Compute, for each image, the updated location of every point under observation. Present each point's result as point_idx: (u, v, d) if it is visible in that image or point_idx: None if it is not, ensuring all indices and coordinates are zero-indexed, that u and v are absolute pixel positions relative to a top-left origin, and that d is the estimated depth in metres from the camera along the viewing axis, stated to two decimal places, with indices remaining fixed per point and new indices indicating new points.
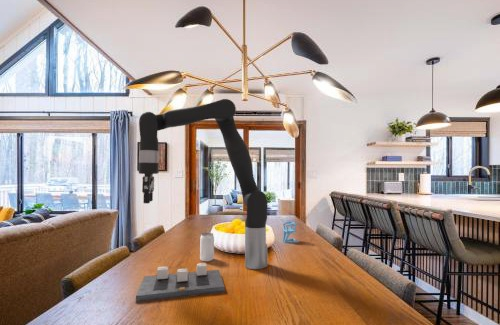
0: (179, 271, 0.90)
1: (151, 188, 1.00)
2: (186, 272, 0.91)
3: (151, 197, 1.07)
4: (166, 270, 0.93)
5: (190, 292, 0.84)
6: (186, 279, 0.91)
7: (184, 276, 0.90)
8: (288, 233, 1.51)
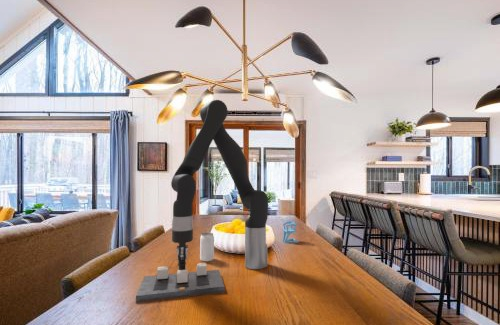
0: (179, 272, 0.89)
1: (186, 258, 0.94)
2: (186, 273, 0.90)
3: None
4: (166, 270, 0.93)
5: (190, 292, 0.84)
6: (186, 280, 0.89)
7: (184, 278, 0.89)
8: (288, 233, 1.51)
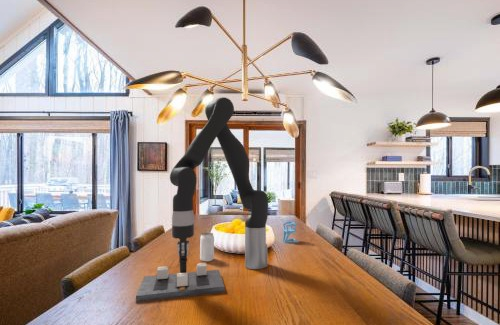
0: (179, 275, 0.86)
1: (187, 254, 0.90)
2: (186, 276, 0.87)
3: None
4: (166, 270, 0.93)
5: (190, 292, 0.84)
6: (186, 284, 0.87)
7: (184, 281, 0.86)
8: (288, 233, 1.51)
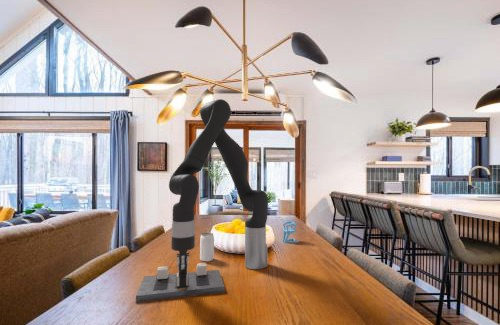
0: None
1: (187, 267, 0.84)
2: (186, 276, 0.87)
3: None
4: (166, 270, 0.93)
5: (190, 292, 0.84)
6: (186, 283, 0.87)
7: None
8: (288, 233, 1.51)
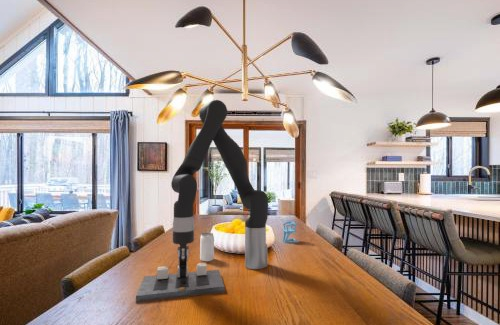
0: None
1: (187, 260, 0.92)
2: (186, 268, 0.95)
3: None
4: (166, 270, 0.93)
5: (190, 292, 0.84)
6: (186, 275, 0.95)
7: None
8: (288, 233, 1.51)
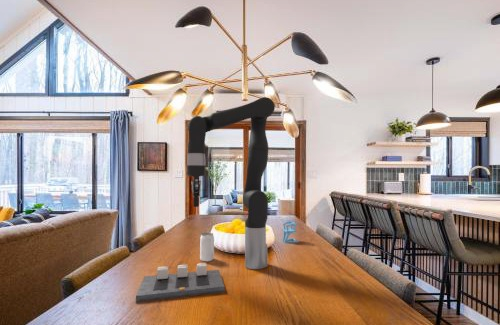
0: (179, 267, 0.94)
1: None
2: (186, 268, 0.95)
3: None
4: (166, 270, 0.93)
5: (190, 292, 0.84)
6: (186, 275, 0.94)
7: (184, 272, 0.94)
8: (288, 233, 1.51)
